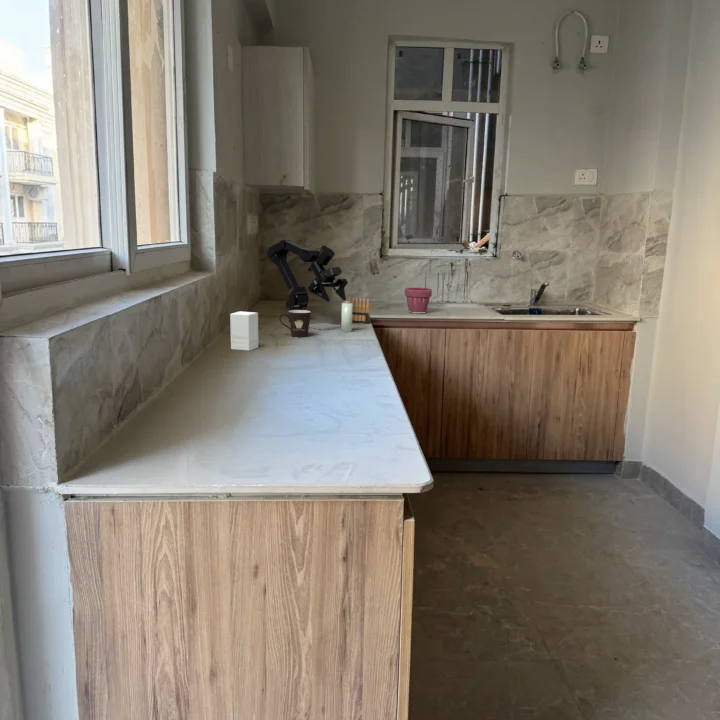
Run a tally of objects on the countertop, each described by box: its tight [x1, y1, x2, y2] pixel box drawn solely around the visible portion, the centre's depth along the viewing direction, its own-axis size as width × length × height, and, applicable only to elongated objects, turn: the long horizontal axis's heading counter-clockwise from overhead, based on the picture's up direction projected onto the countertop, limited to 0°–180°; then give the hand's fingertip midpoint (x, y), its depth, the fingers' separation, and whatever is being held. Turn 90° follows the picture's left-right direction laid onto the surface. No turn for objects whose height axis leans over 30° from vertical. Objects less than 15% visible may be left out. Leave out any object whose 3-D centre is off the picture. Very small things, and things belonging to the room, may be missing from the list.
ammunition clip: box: [347, 296, 371, 325], centre depth 283 cm, size 11×2×12 cm, turn 78°
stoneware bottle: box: [340, 300, 353, 333], centre depth 258 cm, size 4×4×13 cm
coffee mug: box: [278, 309, 312, 339], centre depth 243 cm, size 12×9×10 cm
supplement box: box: [229, 310, 259, 351], centre depth 215 cm, size 7×7×13 cm
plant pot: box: [404, 287, 433, 313], centre depth 326 cm, size 14×14×13 cm
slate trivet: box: [309, 322, 341, 331], centre depth 267 cm, size 11×11×1 cm
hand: (337, 300), depth 261 cm, fingers open, 9 cm apart
